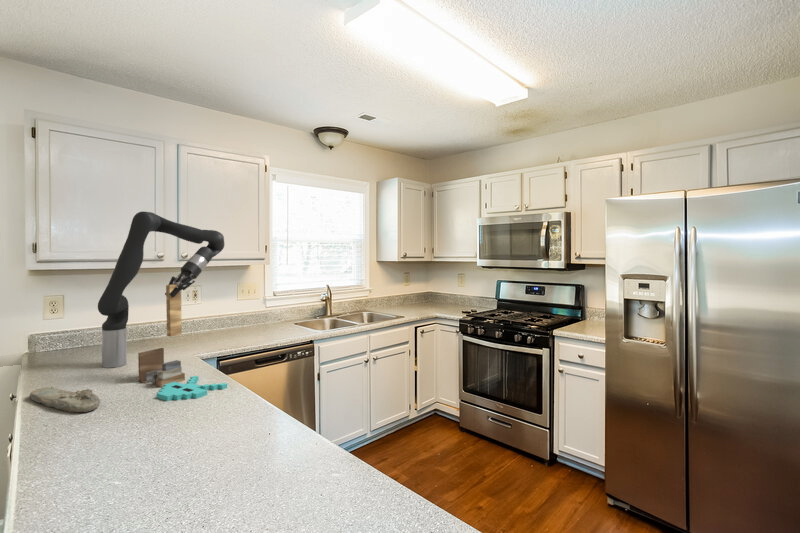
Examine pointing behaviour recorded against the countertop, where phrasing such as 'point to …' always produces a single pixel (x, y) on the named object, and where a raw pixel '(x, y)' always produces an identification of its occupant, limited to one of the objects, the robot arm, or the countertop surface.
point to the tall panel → (173, 312)
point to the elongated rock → (66, 399)
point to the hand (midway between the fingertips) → (169, 295)
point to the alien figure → (187, 390)
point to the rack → (150, 365)
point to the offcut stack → (170, 373)
